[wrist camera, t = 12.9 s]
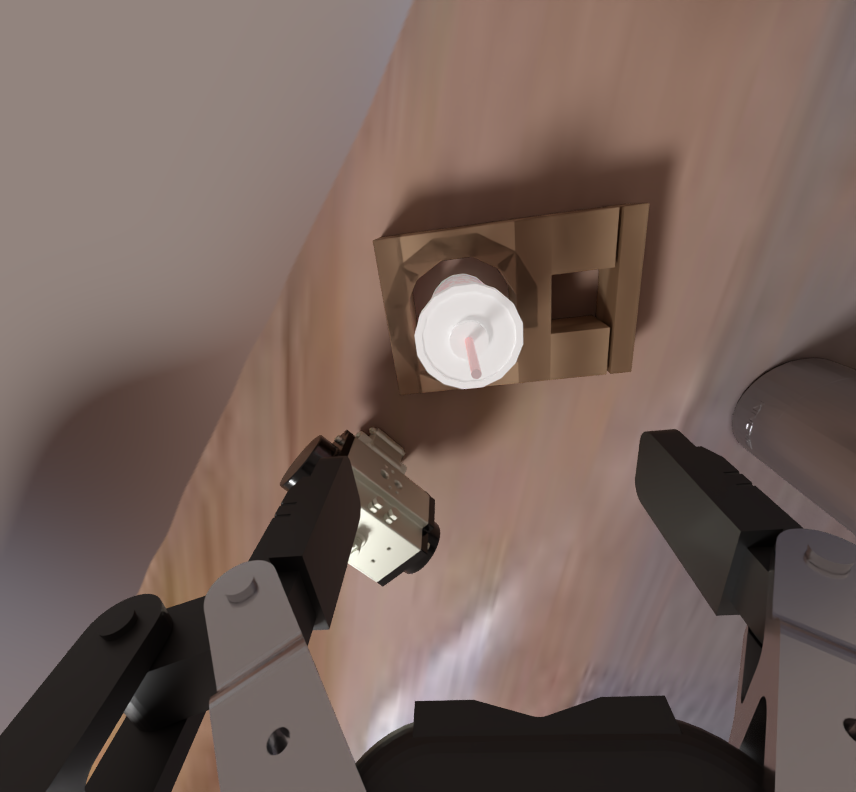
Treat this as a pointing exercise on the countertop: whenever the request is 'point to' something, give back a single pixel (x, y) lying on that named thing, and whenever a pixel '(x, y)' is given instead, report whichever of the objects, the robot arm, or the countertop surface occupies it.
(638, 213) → the socket block
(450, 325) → the beverage cup
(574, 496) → the countertop surface
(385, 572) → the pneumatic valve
